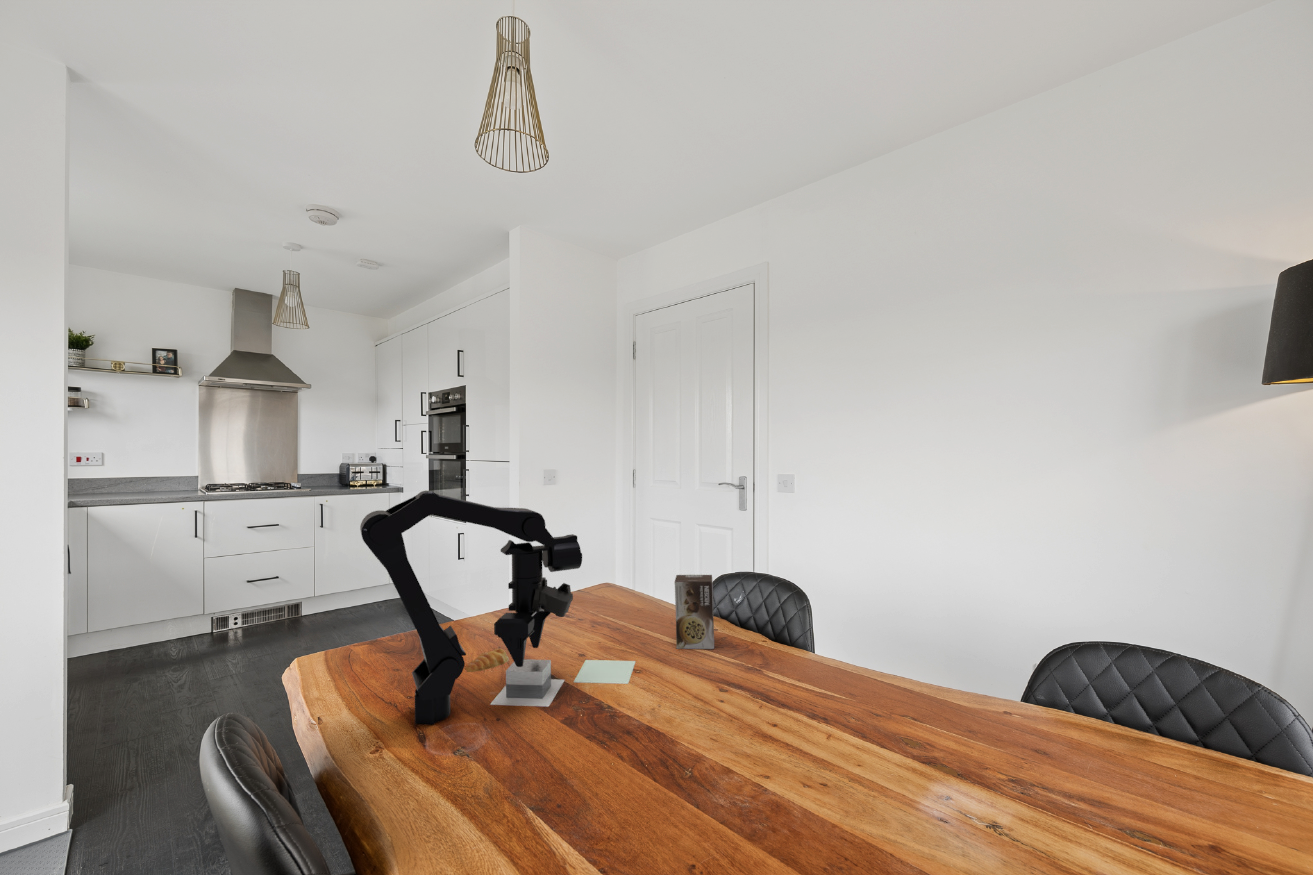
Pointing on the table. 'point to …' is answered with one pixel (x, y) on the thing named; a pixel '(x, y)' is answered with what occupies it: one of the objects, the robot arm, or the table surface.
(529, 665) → the block
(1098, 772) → the table surface
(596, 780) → the table surface
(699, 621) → the coffee box
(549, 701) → the stand
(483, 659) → the pastry
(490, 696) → the table surface
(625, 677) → the stand
